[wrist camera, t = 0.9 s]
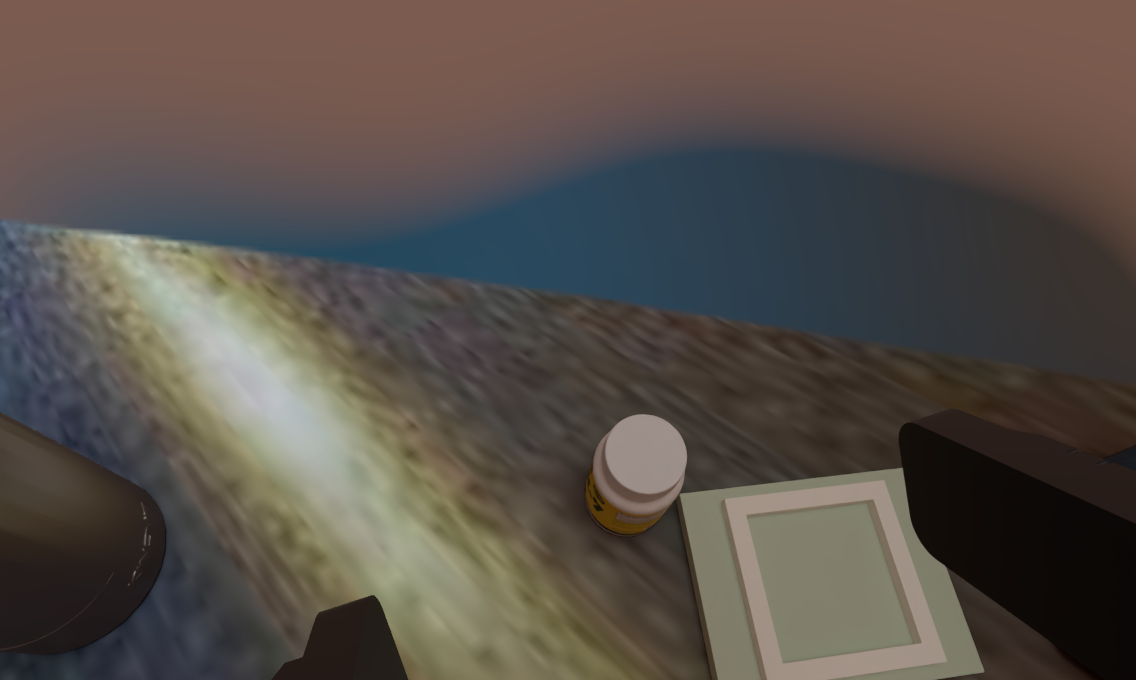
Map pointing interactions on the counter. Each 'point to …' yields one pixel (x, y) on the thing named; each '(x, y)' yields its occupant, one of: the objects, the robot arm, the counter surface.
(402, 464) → the counter surface
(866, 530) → the grey-green flat tray
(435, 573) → the counter surface
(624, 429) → the supplement bottle
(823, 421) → the counter surface
